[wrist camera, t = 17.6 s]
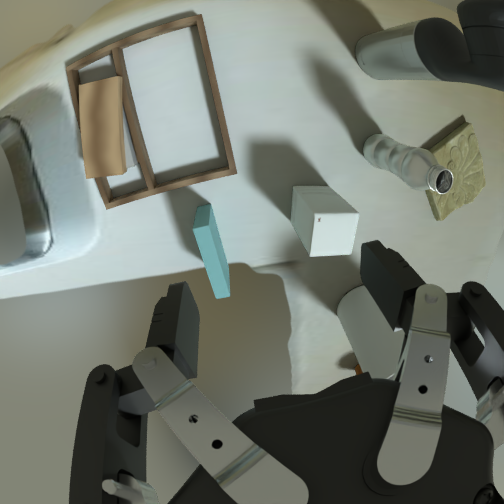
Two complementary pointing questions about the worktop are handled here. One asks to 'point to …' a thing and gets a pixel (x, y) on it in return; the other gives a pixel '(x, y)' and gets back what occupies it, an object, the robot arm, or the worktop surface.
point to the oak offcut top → (102, 127)
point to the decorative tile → (458, 171)
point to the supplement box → (323, 220)
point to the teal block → (212, 250)
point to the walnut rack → (133, 118)
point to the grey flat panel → (128, 142)
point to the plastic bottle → (408, 164)
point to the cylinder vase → (370, 333)
